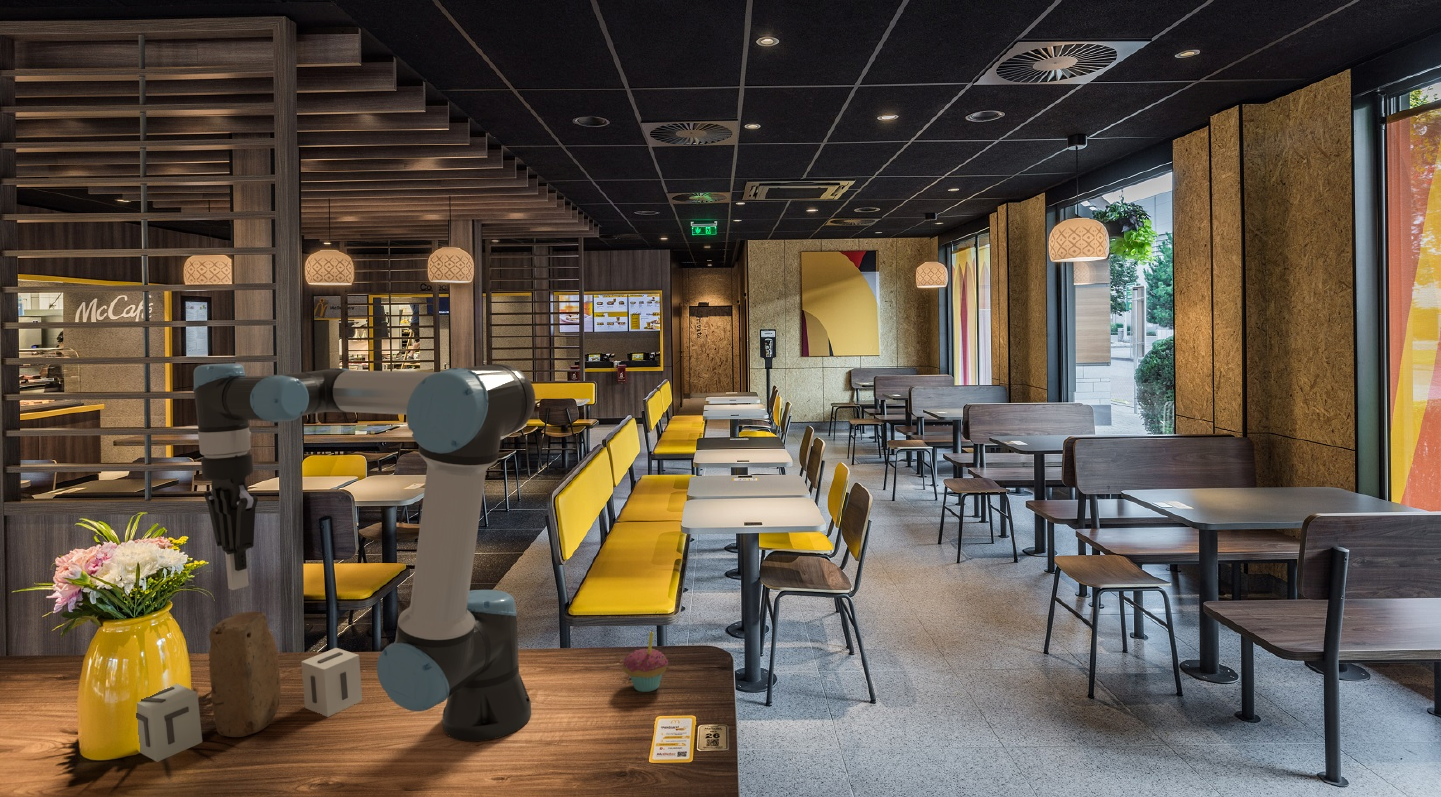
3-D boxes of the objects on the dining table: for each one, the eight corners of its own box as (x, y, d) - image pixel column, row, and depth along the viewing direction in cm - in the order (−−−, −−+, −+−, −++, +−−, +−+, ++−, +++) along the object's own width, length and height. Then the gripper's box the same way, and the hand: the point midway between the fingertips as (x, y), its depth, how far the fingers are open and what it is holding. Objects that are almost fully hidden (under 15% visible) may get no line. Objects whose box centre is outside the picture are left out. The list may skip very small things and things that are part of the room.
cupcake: (677, 682, 158) (675, 622, 157) (650, 701, 151) (648, 638, 150) (641, 672, 163) (639, 614, 161) (614, 690, 156) (611, 629, 154)
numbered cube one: (363, 701, 154) (359, 653, 153) (327, 718, 148) (323, 668, 147) (339, 692, 158) (336, 646, 156) (303, 708, 151) (299, 660, 150)
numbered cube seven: (203, 742, 140) (198, 691, 139) (156, 763, 134) (150, 709, 133) (181, 732, 144) (176, 681, 143) (135, 751, 138) (129, 699, 137)
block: (251, 741, 140) (241, 628, 138) (210, 740, 141) (199, 628, 138) (289, 710, 151) (280, 605, 149) (251, 709, 151) (241, 605, 149)
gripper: (269, 453, 140) (281, 586, 143) (228, 447, 147) (240, 575, 149) (224, 460, 134) (237, 600, 136) (183, 454, 141) (196, 587, 143)
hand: (238, 587), depth 143 cm, fingers closed
